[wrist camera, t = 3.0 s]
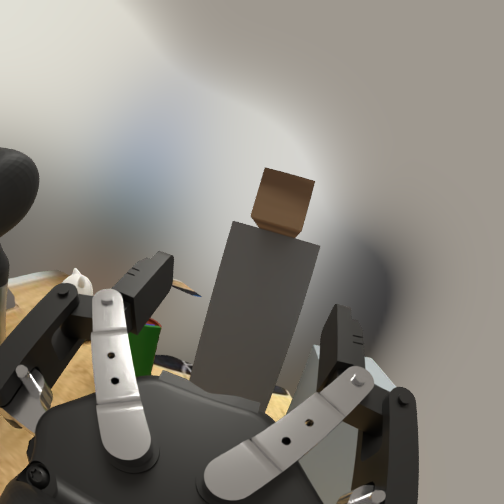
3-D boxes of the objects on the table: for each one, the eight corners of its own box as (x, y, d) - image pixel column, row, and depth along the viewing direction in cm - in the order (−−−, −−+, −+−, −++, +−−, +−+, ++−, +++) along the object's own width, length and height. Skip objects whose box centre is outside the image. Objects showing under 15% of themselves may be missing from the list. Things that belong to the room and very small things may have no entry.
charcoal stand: (235, 482, 29) (320, 245, 28) (169, 461, 30) (233, 220, 29) (245, 436, 41) (308, 248, 40) (193, 420, 42) (246, 230, 41)
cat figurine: (51, 325, 54) (58, 263, 53) (97, 328, 63) (106, 270, 63) (58, 344, 48) (65, 275, 48) (109, 345, 57) (119, 282, 57)
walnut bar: (301, 230, 20) (315, 181, 19) (250, 216, 20) (264, 167, 20) (289, 244, 43) (295, 220, 43) (266, 237, 44) (272, 214, 44)
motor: (159, 410, 41) (184, 300, 41) (111, 416, 35) (129, 295, 34) (132, 378, 48) (152, 279, 48) (90, 380, 41) (105, 272, 41)
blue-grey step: (306, 553, 17) (414, 407, 17) (244, 546, 18) (331, 395, 17) (303, 491, 29) (371, 358, 29) (254, 482, 30) (313, 344, 29)
